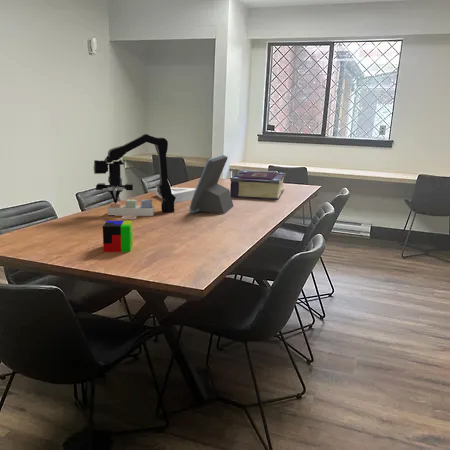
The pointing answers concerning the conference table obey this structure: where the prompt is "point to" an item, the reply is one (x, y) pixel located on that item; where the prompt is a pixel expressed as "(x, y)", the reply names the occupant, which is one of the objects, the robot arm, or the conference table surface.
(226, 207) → the touchscreen device
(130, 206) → the sage green key
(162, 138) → the robot arm
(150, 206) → the slate blue key
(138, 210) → the key console
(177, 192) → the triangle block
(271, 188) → the book
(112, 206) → the terracotta key
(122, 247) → the puzzle toy
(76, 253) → the conference table surface
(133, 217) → the card
